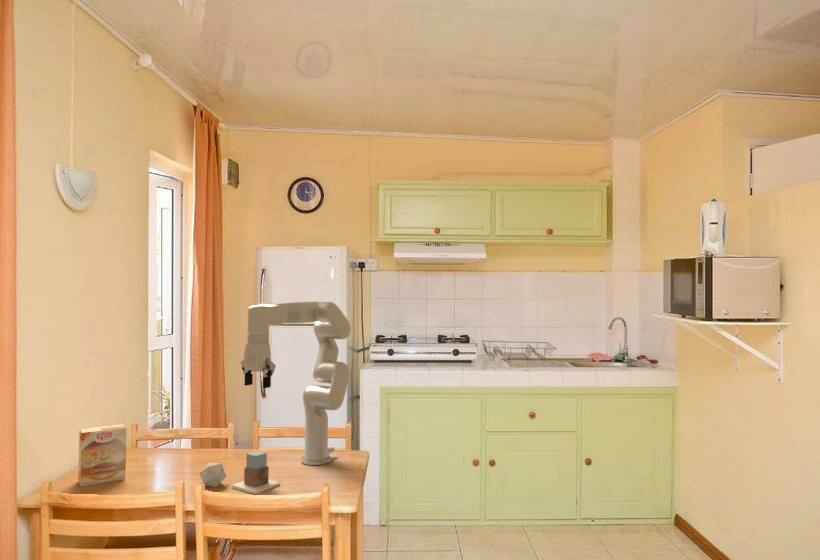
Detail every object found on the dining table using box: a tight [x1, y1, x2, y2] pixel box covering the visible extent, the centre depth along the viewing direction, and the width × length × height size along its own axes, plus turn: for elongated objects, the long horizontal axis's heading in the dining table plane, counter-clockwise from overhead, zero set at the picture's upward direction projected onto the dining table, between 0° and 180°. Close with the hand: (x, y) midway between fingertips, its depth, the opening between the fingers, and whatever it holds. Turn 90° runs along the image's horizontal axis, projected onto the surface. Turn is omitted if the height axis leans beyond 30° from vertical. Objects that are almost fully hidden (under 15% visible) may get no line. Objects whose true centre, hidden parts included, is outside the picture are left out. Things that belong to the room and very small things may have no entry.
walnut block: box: [243, 465, 270, 488], centre depth 204 cm, size 6×6×6 cm
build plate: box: [231, 478, 281, 495], centre depth 204 cm, size 12×12×1 cm
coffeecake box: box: [77, 423, 127, 488], centre depth 209 cm, size 15×7×20 cm, turn 126°
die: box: [199, 461, 227, 488], centre depth 205 cm, size 8×9×10 cm
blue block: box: [246, 450, 268, 470], centre depth 204 cm, size 5×5×5 cm
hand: (257, 386), depth 204 cm, fingers open, 9 cm apart
